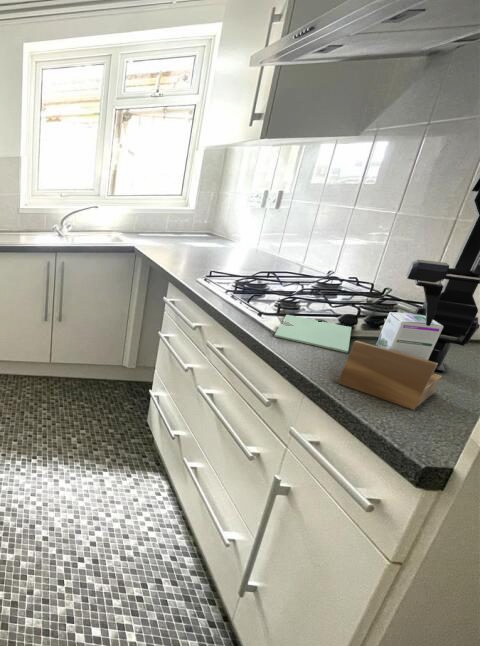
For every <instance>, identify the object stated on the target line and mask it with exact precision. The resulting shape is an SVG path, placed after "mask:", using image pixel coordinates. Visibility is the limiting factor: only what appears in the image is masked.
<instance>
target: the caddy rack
mask: <svg viewBox="0 0 480 646" xmlns="http://www.w3.org/2000/svg"><path fill="white" fill-rule="evenodd" d="M437 365H438V363H435V362H432V361H428V360H425V359H421V358H417V357H414V356H410V355H407V354H403V353H400V352H396V351H392V350H389V349H385V348H382V347H378V346H376V345H374V344H371V343H367V342H363V341H360V340H355V341H354V342H353V344H352V347H351V349H350V351H349V355H348V356H347V359H346V361H345V364H344V367H343V369H342V371H341V373H340V375H339V377H338V378H339V379H338V381H337V384H339V385H342V386H344V387H347V388H350V389H353V390H355V391H359V392H361V393H365V394H367V395H370V396H372V397H376V398H378V399H381V400H384V401H386V402H390V403H393V404H395V405H398V406H401V407H404V408H407V409H409V410H411V411H412V410H413V411H414V410H415V409H416V408H417V407H419V406H420V405H421V404H423V403H424V402H425V401H426V400H427V399H429V398H430V397H432V395H433V394H434V392H435V390H436V388H437V386H438V385H439V382H440V381H441V378H442V375H441V374H438V373H435V371H434V370H435V368H436V366H437Z"/></svg>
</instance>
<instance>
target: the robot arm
mask: <svg viewBox="0 0 480 646" xmlns="http://www.w3.org/2000/svg"><path fill="white" fill-rule="evenodd" d="M470 192H473V193H472V196H471V199H470V202H471V205H472V207H473V209H474V213H475V217H474V220H473V222H472V224H471V226H470V229H469V230H468V233H467V235H466V237H465V238H464V240H463V243H462V245H461V247H460V249H459V252H458V253H457V256H456V258H455V260H454V262H453V264H452V266H451V267H450V265H449V264H448V263H447V262H443V261H435V260H425V259H416V260H413V261H412V262H411V263H410V265H409V267H408V269H407V272H406V274H405V276H406V279H407V280H411V281H414V284H415V286H418V287H421V288H423V292H424V298H425V300H424V302H423V304H422V307H417V308H416V310H415V311H414V313H413V314H418V315H424V316H426V326H430V324H431V322H432V320H434V321H436V322H438V323H439V324H441V325H442V326H443V329H442V331H441V333H440V335H439V337H438V339H437V342H436V344H435V346H434V348H433V350H432V352H431V355H430V357H429V359H428V361H432V362H435V363H438V365H437V366H436V368H435V370H434V372H439V373H444V372H446V369H445V366H444V363H443V362H444V360H445V358H446V356H447V355H448V353H449V351H450V348H451V346H452V345H453V344H454V345H458V346H460V347H461V346H462V347H464V346H465V345H468V344H469V343H470V340H471V339H472V337H473V336H474V335H475V334H476V332H477V331H478V330H479V328H480V323H479V316H477V315H478V313H479V308H478V306H477V304H476V300H475V298H474V294H475V292H476V290H477V288H478V286H479V285H480V170H479V171H478V173H477V175H476V177H475V178H474V180H473V182H472V186H471V188H470ZM444 280H445V282H444ZM442 282H444V284H443V283H442Z"/></svg>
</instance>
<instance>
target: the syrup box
mask: <svg viewBox="0 0 480 646" xmlns="http://www.w3.org/2000/svg"><path fill="white" fill-rule="evenodd" d="M382 326H383V327H382V329H381V330H380V331H381V332H380V334H379V336H378V339H377V341H376V344H375V346H378V347H382V348H385V349H389V350H392V351H396V352H400V353H403V354H407V355H410V356H414V357H417V358H421V359H425V360H428V359H429V357H430V355H431V352H432V350H433V348H434V346H435V344H436V342H437V339H438V337H439V335H440V333H441V331H442V329H443V326H442V325H441V324H439V323H438V322H436V321H434V320H432V322H431V324H430V326H426V316H424V315H418V314H414V313H410V312H393V311H389V313H388V315H387V317H386V320H385V322H384V324H383V325H382Z"/></svg>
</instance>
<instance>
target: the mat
mask: <svg viewBox="0 0 480 646" xmlns="http://www.w3.org/2000/svg"><path fill="white" fill-rule="evenodd" d="M282 321H284V322H285V321H286V322H289V323H290V324H292V325H294V326H285V325H283V324H281V323H280V325H279V327H278V328H277V330H276V331H275V333H274V336H273V337H276V338H279V339H283V340H287V341H292V342H297V343H301V344H306V345H311V346H313V347H314V346H315V347H319V348H323V349H327V350H332V351H337V352H342V353H344V354H345V353H346V354H348V353H349V348H350V341H351V335H352V326H349V325H347V326H346V325H343V324H338V323H332V322H328V321H327V322H326V321H322V322H318V321H319V320H316V319H311V318H306V317H301V316H297V315H291V314H286V315H285V316H284V318H283V320H282Z"/></svg>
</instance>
